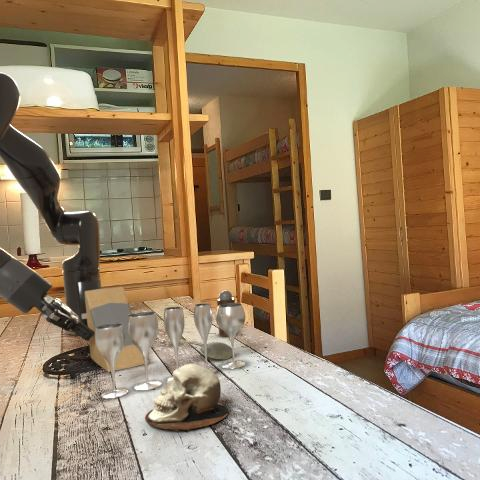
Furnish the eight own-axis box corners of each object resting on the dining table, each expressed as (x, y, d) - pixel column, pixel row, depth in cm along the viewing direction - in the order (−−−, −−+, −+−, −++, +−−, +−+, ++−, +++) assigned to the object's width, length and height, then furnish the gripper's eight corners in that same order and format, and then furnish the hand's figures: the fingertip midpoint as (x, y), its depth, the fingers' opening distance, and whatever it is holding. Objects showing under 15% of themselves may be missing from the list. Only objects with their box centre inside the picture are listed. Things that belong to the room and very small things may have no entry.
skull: (151, 436, 68) (139, 367, 74) (149, 463, 75) (138, 398, 81) (239, 413, 73) (221, 350, 79) (229, 440, 81) (214, 381, 86)
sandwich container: (107, 372, 102) (101, 297, 102) (89, 357, 115) (83, 290, 114) (150, 363, 108) (145, 291, 107) (128, 349, 120) (123, 285, 119)
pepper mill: (217, 334, 131) (214, 290, 130) (235, 331, 132) (232, 288, 132) (221, 337, 127) (217, 292, 126) (238, 335, 128) (235, 290, 128)
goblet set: (104, 402, 86) (97, 323, 85) (96, 393, 90) (90, 318, 90) (253, 365, 102) (249, 298, 101) (240, 359, 107) (236, 295, 106)
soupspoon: (213, 366, 105) (239, 359, 110) (213, 349, 105) (239, 344, 109) (160, 346, 120) (185, 341, 125) (160, 332, 120) (185, 327, 125)
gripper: (28, 273, 98) (103, 328, 103) (38, 268, 111) (104, 317, 116) (-2, 304, 97) (76, 358, 102) (12, 295, 109) (80, 344, 114)
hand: (91, 336), depth 109 cm, fingers closed
